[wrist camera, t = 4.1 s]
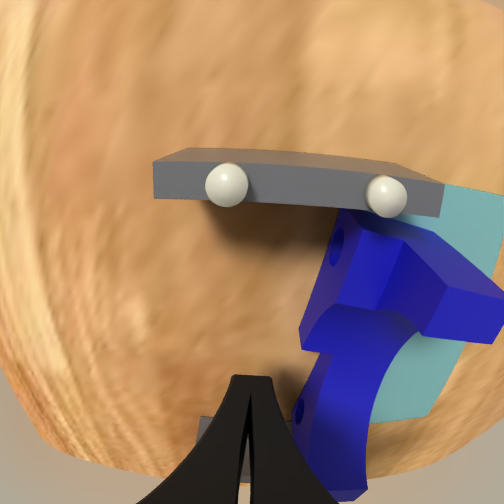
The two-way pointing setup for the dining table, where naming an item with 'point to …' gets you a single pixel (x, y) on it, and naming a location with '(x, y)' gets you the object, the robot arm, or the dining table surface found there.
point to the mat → (435, 349)
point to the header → (293, 190)
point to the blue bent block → (377, 331)
